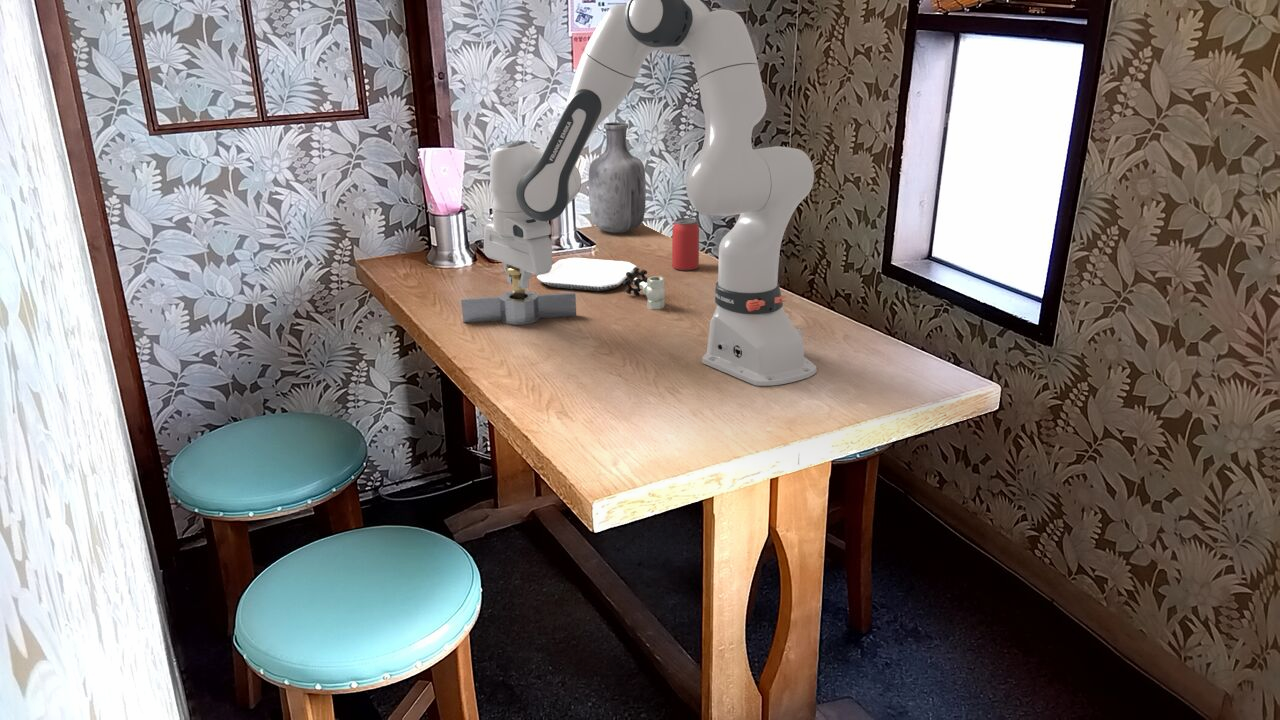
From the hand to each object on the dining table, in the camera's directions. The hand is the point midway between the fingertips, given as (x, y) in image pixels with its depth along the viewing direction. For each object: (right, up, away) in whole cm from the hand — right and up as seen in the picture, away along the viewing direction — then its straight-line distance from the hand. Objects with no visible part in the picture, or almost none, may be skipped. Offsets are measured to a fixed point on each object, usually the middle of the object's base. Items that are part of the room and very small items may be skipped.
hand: (518, 285), depth 201 cm
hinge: (0, -7, +2) cm, 7 cm away
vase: (+19, +21, +71) cm, 77 cm away
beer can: (+37, +7, +37) cm, 53 cm away
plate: (+13, +4, +29) cm, 32 cm away
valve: (+27, -3, +12) cm, 30 cm away
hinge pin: (0, -3, +1) cm, 3 cm away
